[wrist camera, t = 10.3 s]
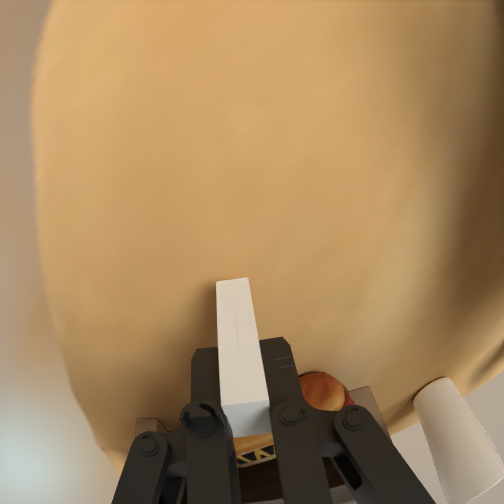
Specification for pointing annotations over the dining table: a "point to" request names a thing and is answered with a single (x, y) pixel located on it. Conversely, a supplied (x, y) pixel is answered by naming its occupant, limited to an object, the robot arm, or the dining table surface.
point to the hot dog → (316, 394)
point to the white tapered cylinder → (457, 442)
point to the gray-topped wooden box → (266, 473)
